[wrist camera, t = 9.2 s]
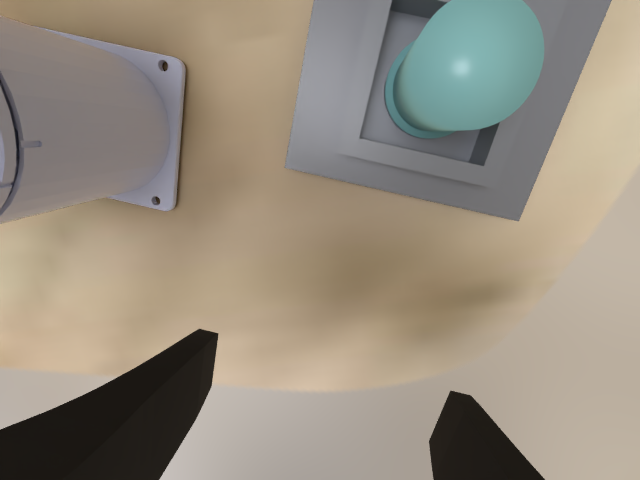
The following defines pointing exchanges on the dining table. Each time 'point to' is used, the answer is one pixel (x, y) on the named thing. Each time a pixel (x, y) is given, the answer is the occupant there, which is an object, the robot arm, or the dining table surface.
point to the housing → (427, 153)
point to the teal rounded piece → (466, 68)
